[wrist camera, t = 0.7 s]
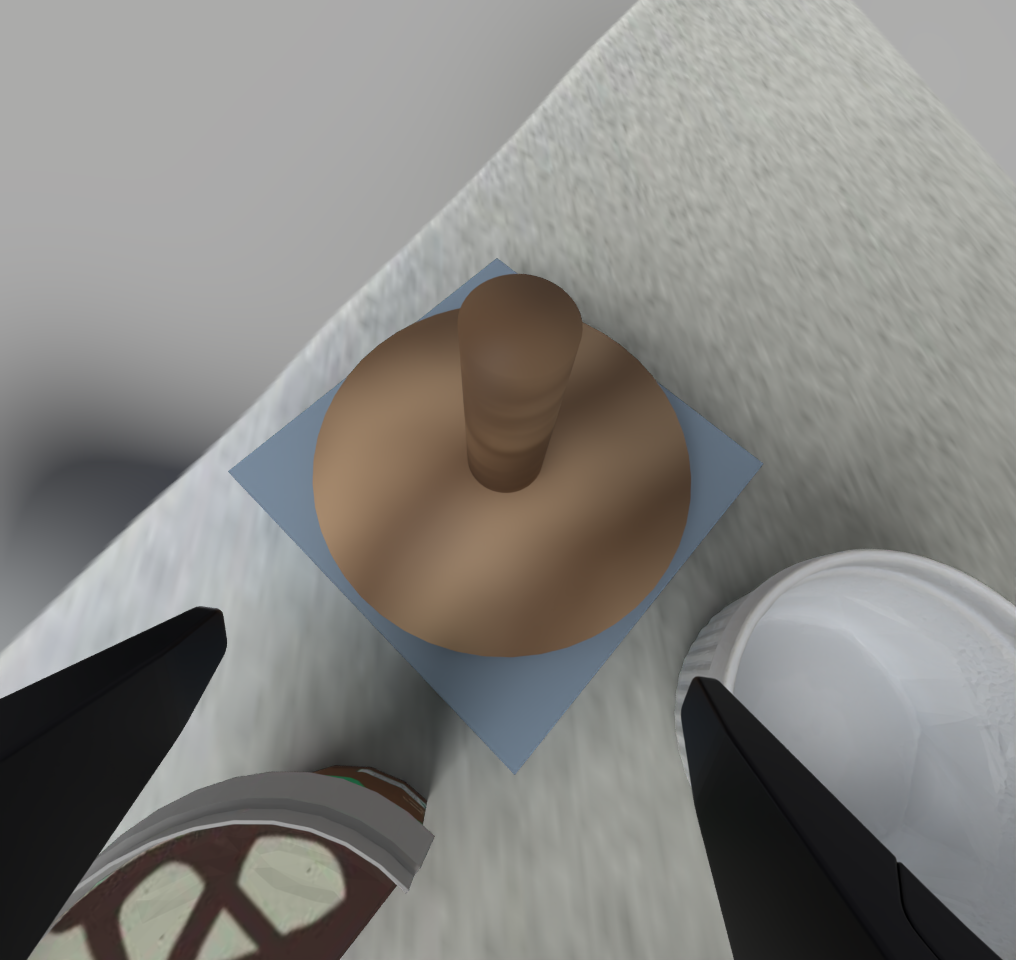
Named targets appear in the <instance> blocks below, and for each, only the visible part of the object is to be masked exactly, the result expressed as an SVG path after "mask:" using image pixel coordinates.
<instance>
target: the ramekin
mask: <svg viewBox="0 0 1016 960" xmlns="http://www.w3.org/2000/svg"><path fill="white" fill-rule="evenodd" d="M695 676H702V677H709V678H715V679H717V680H719V681H720V682H721V683H722V684H723V685H724V686H725V687H726V688H727V689H728V690H729V691H730V692H731V693H732V694H733V695H734V696H735V697H736V698H737V699H738V700H739V701H740V702H741V703H742V704H743V705H744V706H745V707H746V708H747V709H748V710H749V711H750V712H751V713H752V714H753V715H754V716H755V717H756V718H757V719H758V720H759V721H760V722H761V723H762V724H763V725H764V726H765V727H766V728H767V729H768V730H769V731H770V732H771V733H772V734H773V735H774V736H775V737H776V738H777V739H778V740H779V741H780V742H781V743H782V744H783V745H784V746H785V747H786V748H787V749H788V750H789V751H790V752H791V753H792V754H793V755H794V756H795V757H796V758H797V759H798V760H799V761H800V762H801V763H802V764H803V765H804V766H805V767H806V768H807V769H808V770H809V771H810V772H811V773H812V774H813V775H814V776H815V777H816V778H817V779H818V780H819V781H820V782H821V783H822V784H823V785H824V786H825V787H826V788H827V789H828V790H829V791H830V792H831V793H832V794H833V795H834V796H835V797H836V798H837V799H838V800H839V801H840V802H841V803H842V804H843V805H844V806H845V807H846V808H847V809H848V810H849V811H850V812H851V813H852V814H853V815H854V816H855V817H856V818H857V819H858V820H859V821H860V822H861V823H862V824H863V825H864V826H865V827H866V828H867V829H868V830H869V831H870V832H871V833H872V834H873V835H874V836H875V837H876V838H877V839H878V840H879V841H880V842H881V843H882V844H883V845H884V846H885V847H886V848H887V849H888V850H889V851H890V852H891V853H892V854H893V855H894V856H895V857H896V859H897V862H901V863H903V864H904V865H905V866H906V867H907V868H908V869H909V870H910V871H911V872H912V873H913V874H914V875H915V876H916V877H917V878H918V879H919V880H920V881H921V882H922V883H923V884H924V885H925V886H926V887H927V888H928V889H929V890H930V891H931V892H932V893H933V894H934V895H935V896H936V897H937V898H938V899H939V900H940V901H941V902H942V903H943V904H944V905H945V906H946V907H947V908H948V909H949V910H950V911H952V912H953V913H954V914H955V915H956V916H957V917H958V918H959V919H960V920H961V921H962V922H963V923H964V924H965V925H966V926H967V927H968V928H969V929H970V930H971V931H972V932H973V933H975V934H976V935H977V936H978V937H979V938H980V939H981V940H982V941H983V942H984V943H985V944H986V945H988V946H989V947H990V948H991V949H992V950H993V951H994V952H995V953H996V954H997V955H998V956H999V957H1001V958H1002V959H1003V960H1016V606H1015V605H1014V604H1013V603H1011V602H1010V601H1009V600H1007V599H1006V598H1004V597H1003V596H1002V595H1000V594H999V593H998V592H996V591H995V590H993V589H992V588H990V587H988V586H987V585H986V584H984V583H982V582H980V581H979V580H977V579H975V578H974V577H972V576H970V575H968V574H966V573H965V572H963V571H960V570H958V569H956V568H954V567H952V566H949V565H947V564H944V563H941V562H938V561H935V560H933V559H930V558H926V557H923V556H920V555H916V554H912V553H906V552H901V551H894V550H884V549H854V550H846V551H841V552H836V553H831V554H827V555H823V556H819V557H815V558H812V559H808V560H805V561H802V562H799V563H797V564H794V565H792V566H790V567H788V568H786V569H784V570H782V571H780V572H778V573H776V574H775V575H773V576H772V577H770V578H769V579H768V580H766V581H765V582H763V583H762V584H761V585H760V586H759V587H757V588H756V589H755V590H754V591H752V592H750V593H748V594H747V595H745V596H743V597H741V598H740V599H738V600H736V601H734V602H732V603H731V604H729V605H727V606H726V607H725V608H724V609H722V611H721V612H719V613H718V614H716V615H715V616H713V617H712V618H711V620H710V621H709V623H708V625H707V626H705V627H703V628H702V629H701V631H700V632H699V634H698V637H697V638H696V640H695V641H694V642H693V644H692V645H691V647H690V650H689V652H688V654H687V656H686V657H685V659H684V662H683V666H682V669H681V671H680V673H679V680H678V686H677V689H676V705H675V710H674V714H675V721H676V722H675V732H676V736H677V741H678V751H679V754H680V757H681V759H682V763H683V767H684V772H685V775H686V777H687V779H688V781H689V783H690V787H691V782H690V775H689V768H688V762H687V755H686V749H685V742H684V736H683V729H682V723H681V707H682V704H683V701H684V699H685V696H686V694H687V691H688V688H689V686H690V683H691V681H692V679H693V678H694V677H695ZM691 790H692V788H691Z"/></svg>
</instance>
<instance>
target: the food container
mask: <svg viewBox="0 0 1016 960" xmlns="http://www.w3.org/2000/svg"><path fill="white" fill-rule="evenodd" d="M426 805H427V800H425V799H424V798H423V797H422V796H421V795H420V794H419V793H417V792H416V791H415V790H414V789H413V788H412V787H411V786H410V785H408V784H407V783H406V782H405V781H402V780H400V779H398V778H395V777H393V776H391V775H388V774H386V773H384V772H382V771H379V770H377V769H375V768H372V767H358V766H338V765H335V766H331V767H328V768H325V769H321V770H318V771H315V772H311V773H310V772H266V773H260V774H254V775H248V776H241V777H235V778H232V779H229V780H226V781H223V782H219V783H216V784H213V785H210V786H207V787H204V788H201V789H198V790H196V791H194V792H192V793H190V794H188V795H186V796H184V797H182V798H180V799H178V800H176V801H174V802H172V803H170V804H168V805H166V806H164V807H162V808H160V809H158V810H157V811H155V812H154V813H152V814H151V815H149V816H148V817H147V818H145V819H144V820H142V821H141V822H139V823H138V824H136V825H135V826H134V827H132V828H131V829H129V830H128V831H126V832H125V833H123V834H122V835H121V836H120V837H118V838H117V839H116V840H115V841H114V842H113V843H112V844H111V845H109V846H108V847H107V848H106V849H105V850H104V851H103V852H102V853H100V854H99V855H98V856H97V858H96V859H95V861H94V862H93V863H92V865H91V866H90V868H89V869H88V871H87V872H86V874H85V875H84V877H83V878H82V880H81V881H80V883H79V884H78V886H77V887H76V888H75V890H74V891H73V893H72V894H71V896H70V897H69V899H68V900H67V902H66V903H65V905H64V906H63V908H62V909H61V911H60V912H59V914H58V915H57V916H56V918H55V919H54V921H53V922H52V924H51V925H50V927H49V928H48V930H47V931H46V933H45V934H44V936H43V937H42V939H41V940H40V941H39V943H38V944H37V946H36V947H35V949H34V950H33V952H32V953H31V955H30V956H29V958H28V959H27V960H340V958H341V957H342V956H343V955H344V953H345V952H346V951H347V949H348V948H349V947H350V946H351V944H352V943H353V942H354V940H355V939H356V938H357V937H358V935H359V934H360V933H361V931H362V930H363V929H364V928H365V926H366V925H367V924H368V922H369V921H370V920H371V919H372V917H373V916H374V915H375V913H376V912H377V911H378V909H379V908H380V907H381V905H382V904H383V903H384V902H385V900H386V899H387V898H388V896H389V895H390V894H391V892H392V891H393V890H394V889H395V887H396V886H398V887H400V888H401V889H402V890H403V891H404V892H405V893H407V892H408V891H409V888H410V886H411V883H412V880H413V877H414V875H415V874H416V873H417V872H418V870H419V869H420V868H421V866H422V864H423V861H424V859H425V857H426V855H427V852H428V850H429V848H430V846H431V843H432V841H433V839H434V837H435V836H434V835H433V834H432V833H431V832H430V831H428V830H427V829H426V828H425V827H424V826H423V821H424V816H425V810H426Z"/></svg>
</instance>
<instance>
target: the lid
mask: <svg viewBox="0 0 1016 960" xmlns="http://www.w3.org/2000/svg"><path fill="white" fill-rule="evenodd" d="M313 492H314V502H315V509H316V513H317V517H318V521H319V525H320V528H321V532H322V534H323V537H324V539H325V541H326V544H327V546H328V549H329V551H330V553H331V555H332V557H333V559H334V560H335V562H336V564H337V565H338V567H339V569H340V570H341V572H342V574H343V575H344V577H345V578H346V579H347V580H348V582H349V583H350V584H351V585H352V586H353V588H354V589H355V590H356V591H357V593H358V594H359V595H360V596H361V597H362V598H363V599H364V600H365V601H366V602H367V603H368V604H369V605H371V606H372V607H373V608H374V609H375V610H376V611H377V612H378V613H379V614H380V615H382V616H383V617H385V618H386V619H388V620H389V621H391V622H392V623H394V624H395V625H397V626H398V627H399V628H401V629H402V630H404V631H406V632H408V633H410V634H412V635H414V636H416V637H418V638H420V639H422V640H424V641H426V642H429V643H431V644H434V645H437V646H441V647H444V648H447V649H450V650H453V651H456V652H461V653H467V654H473V655H479V656H486V657H520V656H529V655H539V654H544V653H548V652H552V651H556V650H560V649H564V648H567V647H570V646H572V645H575V644H577V643H580V642H582V641H585V640H587V639H589V638H592V637H594V636H596V635H597V634H599V633H601V632H602V631H604V630H606V629H608V628H609V627H611V626H613V625H614V624H616V623H617V622H619V621H620V620H621V619H622V618H624V617H625V616H626V615H627V614H629V613H630V612H631V611H632V610H634V609H635V608H636V607H637V606H638V605H639V604H640V603H641V602H642V601H643V600H644V599H645V597H646V596H647V595H648V594H649V593H650V592H651V591H652V590H653V589H654V588H655V586H656V585H657V583H658V582H659V580H660V579H661V578H662V576H663V575H664V573H665V572H666V570H667V569H668V567H669V565H670V563H671V561H672V559H673V557H674V555H675V553H676V551H677V549H678V547H679V545H680V542H681V539H682V536H683V532H684V529H685V526H686V523H687V517H688V512H689V506H690V500H691V471H690V461H689V454H688V450H687V446H686V442H685V437H684V433H683V431H682V428H681V426H680V423H679V421H678V418H677V415H676V413H675V411H674V409H673V407H672V405H671V404H670V402H669V400H668V398H667V396H666V394H665V393H664V391H663V390H662V389H661V387H660V386H659V384H658V383H657V382H656V380H655V379H654V378H653V376H652V375H651V374H650V373H649V372H648V371H647V369H646V368H645V367H644V366H643V365H642V364H641V363H640V362H639V361H638V360H637V359H636V358H635V357H634V356H633V355H632V354H630V353H629V352H628V351H627V350H626V349H625V348H623V347H622V346H621V345H620V344H618V343H617V342H615V341H614V340H612V339H611V338H609V337H608V336H607V335H605V334H604V333H602V332H600V331H598V330H596V329H594V328H592V327H591V326H589V325H587V324H585V323H583V322H582V318H581V315H580V312H579V310H578V308H577V306H576V304H575V302H574V301H573V300H572V298H571V297H570V296H569V295H568V294H567V293H566V292H565V291H564V290H563V289H561V288H560V287H559V286H557V285H556V284H554V283H552V282H550V281H548V280H546V279H543V278H540V277H537V276H533V275H527V274H508V275H502V276H498V277H494V278H492V279H489V280H487V281H485V282H483V283H481V284H480V285H478V286H477V287H476V288H475V289H473V290H472V291H471V292H470V293H469V295H468V296H467V297H466V298H465V300H464V302H463V303H462V305H461V308H458V309H454V310H450V311H447V312H443V313H439V314H436V315H433V316H431V317H428V318H426V319H423V320H421V321H418V322H415V323H414V324H412V325H410V326H408V327H406V328H404V329H402V330H401V331H399V332H397V333H395V334H394V335H392V336H391V337H389V338H388V339H387V340H385V341H384V342H382V343H381V344H379V345H378V346H377V347H376V348H375V349H374V350H372V351H371V352H370V353H369V354H368V355H367V356H366V357H365V358H363V359H362V360H361V361H360V363H359V364H358V365H357V366H356V367H355V368H354V369H353V371H352V372H351V373H350V374H349V375H348V376H347V378H346V379H345V381H344V382H343V384H342V385H341V387H340V388H339V390H338V391H337V393H336V394H335V396H334V398H333V400H332V402H331V404H330V406H329V408H328V410H327V412H326V414H325V417H324V420H323V423H322V426H321V429H320V432H319V435H318V438H317V443H316V449H315V454H314V460H313Z"/></svg>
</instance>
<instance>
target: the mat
mask: <svg viewBox="0 0 1016 960" xmlns="http://www.w3.org/2000/svg"><path fill="white" fill-rule="evenodd" d="M508 274H517V273H516V272H515V271H513V270H512V269H511V268H509V267H508V266H507V265H505V264H504V263H503V262H502V261H500V260H499V259H498V258H496V259H495V260H494V261H493V262H491V263H490V264H489V265H488V266H486V267H485V268H484V269H483V270H481V271H480V272H479V273H477V274H476V275H475V276H474V277H472V278H471V279H470V280H469V281H467V282H466V283H465V284H464V285H462V286H461V287H460V288H459V289H457V290H456V291H455V292H454V293H452V294H451V295H450V296H449V297H447V298H446V299H445V300H443V301H442V302H441V303H440V304H438V305H437V306H436V307H435V308H433V309H432V310H431V311H430V312H428V313H427V314H426V315H425V316H423V317H422V318H421V319H420V320H418V321H421V320H423V319H426V318H428V317H431V316H433V315H436V314H439V313H443V312H447V311H450V310H454V309H458V308H461V305H462V303H463V302H464V300H465V298H466V297H467V296H468V295H469V293H470V292H471V291H472V290H473V289H475V288H476V287H477V286H478V285H480V284H481V283H483V282H485V281H487V280H489V279H492V278H494V277H498V276H502V275H508ZM418 321H417V322H418ZM346 378H347V377H346ZM346 378H345V379H346ZM345 379H344V380H343V381H341V382H340V383H339V384H338V385H336V386H335V387H334V388H333V389H331V390H330V391H329V392H328V393H326V394H325V395H324V396H323V397H321V398H320V399H319V400H317V401H316V402H315V403H314V404H312V405H311V406H310V407H309V408H307V409H306V410H305V411H304V412H302V413H301V414H300V415H299V416H297V417H296V418H295V419H294V420H292V421H291V422H290V423H288V424H287V425H286V426H285V427H283V428H282V429H281V430H280V431H278V432H277V433H276V434H275V435H273V436H272V437H271V438H270V439H268V440H267V441H266V442H265V443H263V444H262V445H261V446H260V447H258V448H257V449H256V450H254V451H253V452H252V453H251V454H249V455H248V456H247V457H246V458H244V459H243V460H242V461H241V462H239V463H238V464H237V465H236V466H234V467H233V468H232V469H231V470H229V471H228V472H229V473H230V474H231V475H232V476H233V477H234V478H235V480H236V481H237V482H238V483H239V484H240V485H241V486H242V487H243V488H244V489H245V490H246V491H247V492H248V493H249V494H250V495H251V496H252V498H253V499H254V500H255V501H256V502H257V503H258V504H259V505H260V506H261V507H262V508H263V509H264V510H265V511H266V512H267V513H268V514H269V515H270V517H271V518H272V519H273V520H274V521H275V522H276V523H277V524H278V525H279V526H280V527H281V528H282V529H283V530H284V531H285V532H286V533H287V535H288V536H289V537H290V538H291V539H292V540H293V541H294V542H295V543H296V544H297V545H298V546H299V547H300V548H301V549H302V550H303V551H304V553H305V554H306V555H307V556H308V557H309V558H310V559H311V560H312V561H313V562H314V563H315V564H316V565H317V566H318V567H319V568H320V569H321V571H322V572H323V573H324V574H325V575H326V576H327V577H328V578H329V579H330V580H331V581H332V582H333V583H334V584H335V585H336V586H337V587H338V588H339V590H340V591H341V592H342V593H343V594H344V595H345V596H346V597H347V598H348V599H349V600H350V601H351V602H352V603H353V604H354V605H355V606H356V608H357V609H358V610H359V611H360V612H361V613H362V614H363V615H364V616H365V617H366V618H367V619H368V620H369V621H370V622H371V623H372V624H373V626H374V627H375V628H376V629H377V630H378V631H379V632H380V633H381V634H382V635H383V636H384V637H385V638H386V639H387V640H388V641H389V642H390V643H391V645H392V646H393V647H394V648H395V649H396V650H397V651H398V652H399V653H400V654H401V655H402V656H403V657H404V658H405V659H406V660H407V661H408V663H409V664H410V665H411V666H412V667H413V668H414V669H415V670H416V671H417V672H418V673H419V674H420V675H421V676H422V677H423V678H424V679H425V681H426V682H427V683H428V684H429V685H430V686H431V687H432V688H433V689H434V690H435V691H436V692H437V693H438V694H439V695H440V696H441V697H442V699H443V700H444V701H445V702H446V703H447V704H448V705H449V706H450V707H451V708H452V709H453V710H454V711H455V712H456V713H457V714H458V715H459V716H460V718H461V719H462V720H463V721H464V722H465V723H466V724H467V725H468V726H469V727H470V728H471V729H472V730H473V731H474V732H475V733H476V734H477V736H478V737H479V738H480V739H481V740H482V741H483V742H484V743H485V744H486V745H487V746H488V747H489V748H490V749H491V750H492V751H493V752H494V754H495V755H496V756H497V757H498V758H499V759H500V760H501V761H502V762H503V763H504V764H505V765H506V766H507V767H508V768H509V769H510V770H511V772H512V773H513V774H514V775H515V774H516V773H517V771H518V770H519V769H520V768H521V766H522V765H523V764H524V763H525V761H526V760H527V759H528V758H529V756H530V755H531V754H532V753H533V751H534V750H535V749H536V748H537V746H538V745H539V744H540V743H541V741H542V740H543V739H544V738H545V736H546V735H547V734H548V733H549V731H550V730H551V729H552V728H553V726H554V725H555V724H556V723H557V721H558V720H559V719H560V718H561V716H562V715H563V714H564V713H565V711H566V710H567V709H568V708H569V706H570V705H571V704H572V703H573V701H574V700H575V699H576V698H577V696H578V695H579V694H580V693H581V691H582V690H583V689H584V688H585V686H586V685H587V684H588V683H589V681H590V680H591V679H592V678H593V676H594V675H595V674H596V673H597V671H598V670H599V669H600V668H601V666H602V665H603V664H604V663H605V661H606V660H607V659H608V658H609V656H610V655H611V654H612V653H613V651H614V650H615V649H616V648H617V646H618V645H619V644H620V643H621V641H622V640H623V639H624V638H625V636H626V635H627V634H628V633H629V631H630V630H631V629H632V628H633V626H634V625H635V624H636V623H637V621H638V620H639V619H640V618H641V616H642V615H643V614H644V613H645V611H646V610H647V609H648V608H649V606H650V605H651V604H652V603H653V601H654V600H655V599H656V598H657V596H658V595H659V594H660V593H661V591H662V590H663V589H664V588H665V586H666V585H667V584H668V583H669V581H670V580H671V579H672V578H673V576H674V575H675V574H676V573H677V571H678V570H679V569H680V568H681V566H682V565H683V564H684V563H685V561H686V560H687V559H688V558H689V556H690V555H691V554H692V553H693V551H694V550H695V549H696V548H697V546H698V545H699V544H700V543H701V541H702V540H703V539H704V538H705V536H706V535H707V534H708V533H709V531H710V530H711V529H712V528H713V526H714V525H715V524H716V523H717V521H718V520H719V519H720V518H721V516H722V515H723V514H724V513H725V511H726V510H727V509H728V507H729V506H730V505H731V504H732V502H733V501H734V500H735V499H736V497H737V496H738V495H739V494H740V492H741V491H742V490H743V489H744V487H745V486H746V485H747V484H748V482H749V481H750V480H751V479H752V477H753V476H754V475H755V474H756V472H757V471H758V470H759V469H760V467H761V466H762V465H763V463H762V462H760V461H759V460H758V459H757V458H755V457H754V456H753V455H751V454H750V453H749V452H748V451H746V450H745V449H744V448H742V447H741V446H740V445H738V444H737V443H736V442H735V441H733V440H732V439H731V438H729V437H728V436H727V435H726V434H724V433H723V432H722V431H720V430H719V429H718V428H716V427H715V426H714V425H713V424H711V423H710V422H709V421H707V420H706V419H705V418H704V417H702V416H701V415H700V414H698V413H697V412H696V411H694V410H693V409H692V408H691V407H689V406H688V405H687V404H685V403H684V402H683V401H682V400H680V399H679V398H678V397H676V396H675V395H674V394H672V393H671V392H670V391H669V390H667V389H666V388H665V387H663V386H662V385H661V384H659V383H658V382H657V381H656V382H657V383H658V384H659V386H660V387H661V389H662V390H663V391H664V393H665V394H666V396H667V398H668V400H669V402H670V404H671V405H672V407H673V409H674V411H675V413H676V415H677V418H678V421H679V423H680V426H681V428H682V431H683V433H684V437H685V442H686V446H687V450H688V454H689V461H690V471H691V500H690V506H689V512H688V517H687V523H686V526H685V529H684V532H683V536H682V539H681V542H680V545H679V547H678V549H677V551H676V553H675V555H674V557H673V559H672V561H671V563H670V565H669V567H668V569H667V570H666V572H665V573H664V575H663V576H662V578H661V579H660V580H659V582H658V583H657V585H656V586H655V588H654V589H653V590H652V591H651V592H650V593H649V594H648V595H647V596H646V597H645V599H644V600H643V601H642V602H641V603H640V604H639V605H638V606H637V607H636V608H635V609H634V610H632V611H631V612H630V613H629V614H627V615H626V616H625V617H624V618H622V619H621V620H620V621H619V622H617V623H616V624H614V625H613V626H611V627H609V628H608V629H606V630H604V631H602V632H601V633H599V634H597V635H596V636H594V637H592V638H589V639H587V640H585V641H582V642H580V643H577V644H575V645H572V646H570V647H567V648H564V649H560V650H556V651H552V652H548V653H544V654H539V655H529V656H520V657H486V656H479V655H473V654H467V653H461V652H456V651H453V650H450V649H447V648H444V647H441V646H437V645H434V644H431V643H429V642H426V641H424V640H422V639H420V638H418V637H416V636H414V635H412V634H410V633H408V632H406V631H404V630H402V629H401V628H399V627H398V626H397V625H395V624H394V623H392V622H391V621H389V620H388V619H386V618H385V617H383V616H382V615H380V614H379V613H378V612H377V611H376V610H375V609H374V608H373V607H372V606H371V605H369V604H368V603H367V602H366V601H365V600H364V599H363V598H362V597H361V596H360V595H359V594H358V593H357V591H356V590H355V589H354V588H353V586H352V585H351V584H350V583H349V582H348V580H347V579H346V578H345V577H344V575H343V574H342V572H341V570H340V569H339V567H338V565H337V564H336V562H335V560H334V559H333V557H332V555H331V553H330V551H329V549H328V546H327V544H326V541H325V539H324V537H323V534H322V532H321V528H320V525H319V521H318V517H317V513H316V509H315V502H314V492H313V460H314V454H315V449H316V443H317V438H318V435H319V432H320V429H321V426H322V423H323V420H324V417H325V414H326V412H327V410H328V408H329V406H330V404H331V402H332V400H333V398H334V396H335V394H336V393H337V391H338V390H339V388H340V387H341V385H342V384H343V382H344V381H345Z"/></svg>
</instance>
